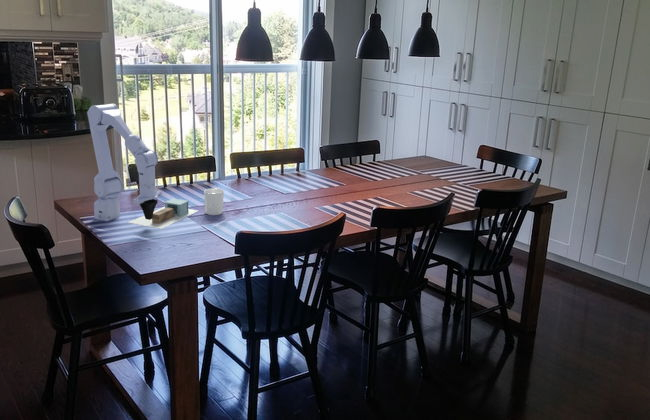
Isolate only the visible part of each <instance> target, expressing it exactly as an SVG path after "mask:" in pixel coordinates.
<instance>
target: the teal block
mask: <svg viewBox="0 0 650 420" xmlns="http://www.w3.org/2000/svg"><path fill="white" fill-rule="evenodd" d="M164 207H165V208H167V207H168V208H174V211H175V212H178V216H179V217H181V216H183V215H185V214H187V213H189V210H188V209H189V200H185V199H180V198H179V199H177V198H174V197H173V198H171V199H168V200H166V201H164Z"/></svg>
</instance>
